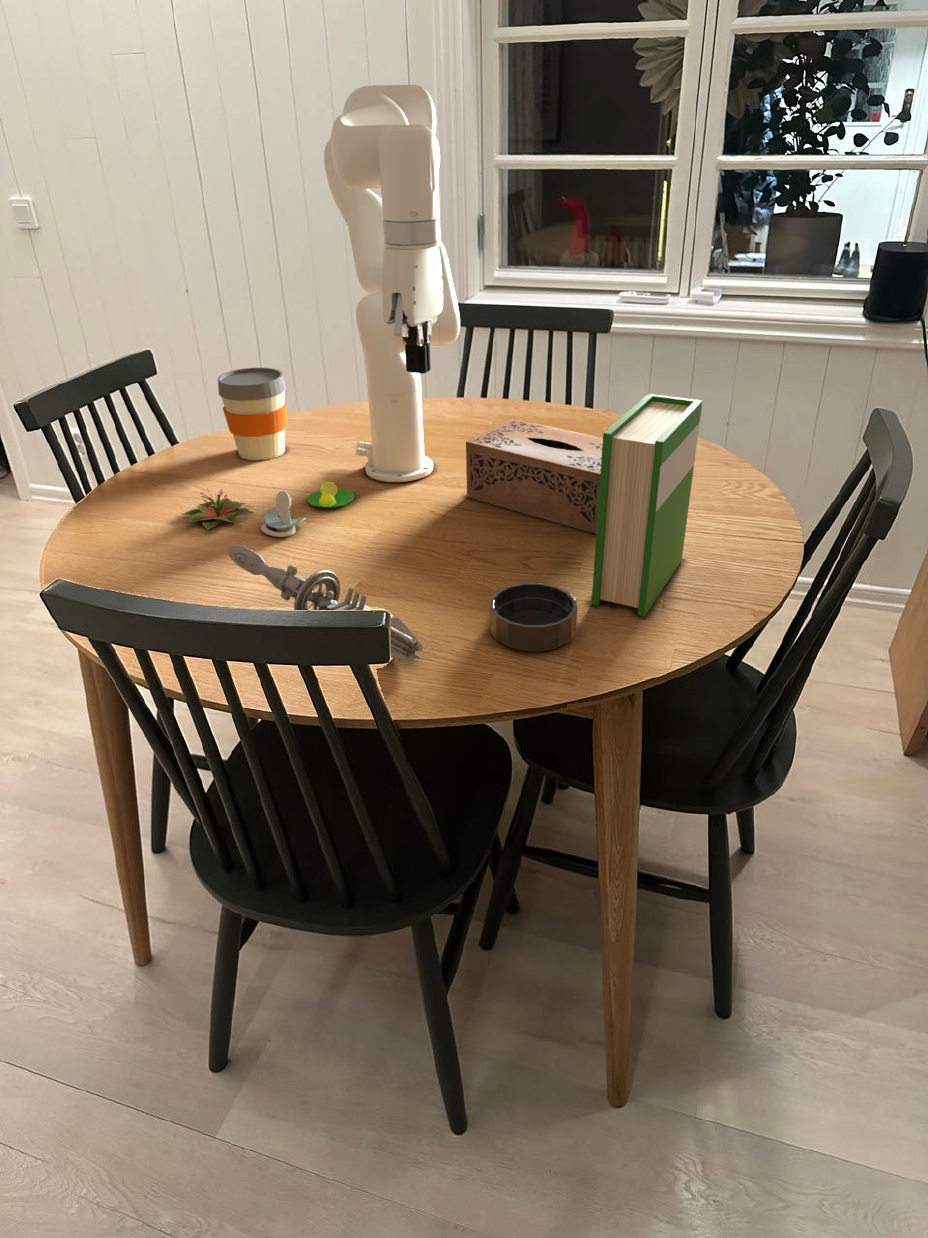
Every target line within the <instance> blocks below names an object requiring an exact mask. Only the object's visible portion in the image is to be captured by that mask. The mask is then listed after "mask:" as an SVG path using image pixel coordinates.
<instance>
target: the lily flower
mask: <svg viewBox="0 0 928 1238" xmlns="http://www.w3.org/2000/svg"><path fill="white" fill-rule="evenodd" d="M206 491H207V492H208V493H209V495H210V496H211V497H210V496H208V495H206V494H205V493H204V492H199V493H200V494H201V498H205V499H207V500H209V501H207V500H205V499H203V502H204V503H199V504H198V505H197V508H194V509H190V510H188V511H186V512H181V515H183V516H186V517H189V519H188V522H187V523H186V526H188V525H191V524H194V523H197V522H200V521H201V525H203V527H204V528H206V530H207V531H209V530H210V529H212V528H214V527H216V526H217V525H219V524H221V523H223V522H224V521H225V522H229V523H232V524H233V525H237V518H238V517H240V516H245V515H249V514H255V513H256V512H254V511H252V510H249V509H248V508H243V507H242V506H244V505H247V504H248V502H241V501H240V502H239V501H232V500H231V499H229V498H228V497H227V496H228V494H225V495H224V496H223V498H222V499H221V496H222V495H223V494H224V491H223V489H220V491H219V492H218V494H216V498H217V500H215V499H214V497H213V496H212V494H211V492H210V491H209V489H208V488H206Z"/></svg>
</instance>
